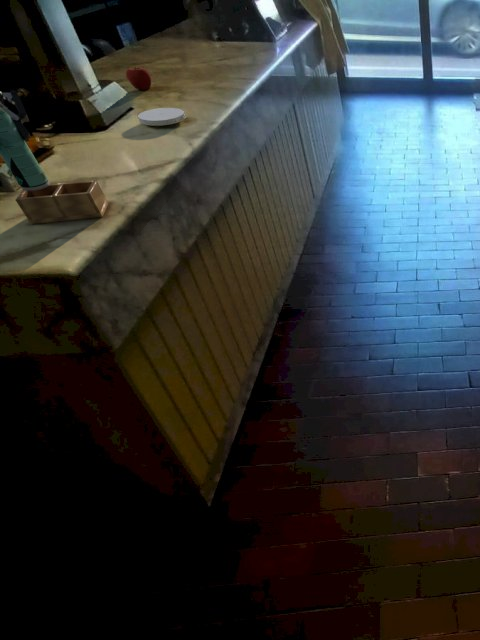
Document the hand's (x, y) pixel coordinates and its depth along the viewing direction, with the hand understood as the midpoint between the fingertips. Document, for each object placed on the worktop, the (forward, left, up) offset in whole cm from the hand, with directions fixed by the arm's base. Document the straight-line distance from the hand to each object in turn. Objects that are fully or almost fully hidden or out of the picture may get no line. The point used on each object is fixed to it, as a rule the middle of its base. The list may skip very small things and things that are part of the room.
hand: (10, 142), depth 112 cm
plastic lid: (+16, +70, -18) cm, 73 cm away
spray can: (-1, +2, -10) cm, 11 cm away
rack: (+3, +2, -18) cm, 18 cm away
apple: (+4, +113, -18) cm, 114 cm away
